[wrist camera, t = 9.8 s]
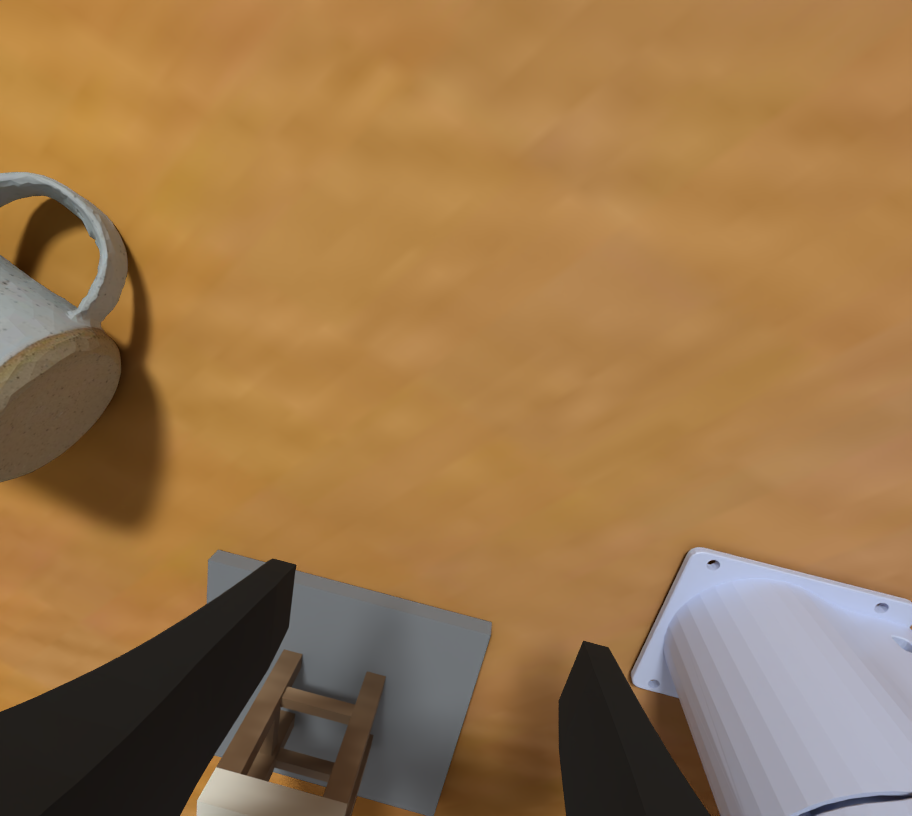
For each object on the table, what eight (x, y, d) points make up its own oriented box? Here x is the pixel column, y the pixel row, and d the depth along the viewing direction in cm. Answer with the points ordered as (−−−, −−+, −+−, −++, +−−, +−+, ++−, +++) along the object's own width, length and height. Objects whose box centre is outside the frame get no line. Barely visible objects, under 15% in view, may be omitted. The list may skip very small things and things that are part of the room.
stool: (385, 676, 24) (336, 840, 17) (371, 747, 26) (321, 919, 19) (283, 649, 24) (197, 800, 18) (276, 721, 26) (195, 882, 20)
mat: (491, 622, 23) (490, 635, 22) (435, 801, 28) (433, 817, 27) (218, 549, 24) (208, 559, 23) (210, 738, 28) (201, 751, 28)
